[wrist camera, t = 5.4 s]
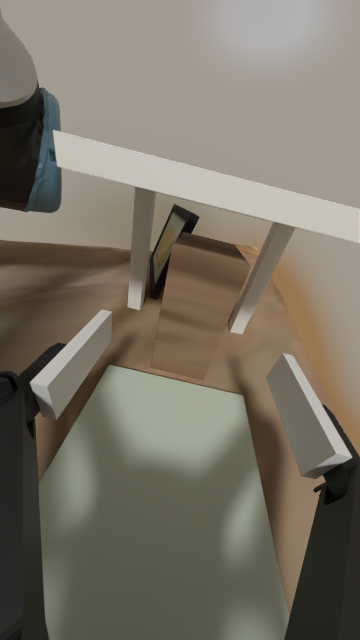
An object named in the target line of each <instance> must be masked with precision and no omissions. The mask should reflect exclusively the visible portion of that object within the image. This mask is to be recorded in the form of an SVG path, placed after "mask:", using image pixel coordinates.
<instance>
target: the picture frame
mask: <svg viewBox="0 0 360 640" xmlns="http://www.w3.org/2000/svg"><path fill="white" fill-rule="evenodd" d="M198 219H199V217H198V216H197V215H195V214H194V213H192V212H190V211H188V210H186V209H184V208H181V207H180V206H178V205H176V204H174V206H173V208H172V210H171V213H170V215H169V217H168V219H167V221H166V224H165V226H164V228H163V230H162V233H161V235H160V237H159V240H158V242H157V244H156V246H155V249H154V251H153V253H152V255H151V258H150V286H151V298H153V299H156V300H157V299H158V297H159V295H160V293H161V291H162V289H163V287H164V285H165V283H166V278H167V272H168V266H169V261H170V255H171V249H172V246H173V245H174V244H175V242H176V241H177V240H178V238H179V237H180V236H181V234H182V233H183V232H186V233H190V234H191V233H192V231H193V229H194V227H195V225H196V223H197V221H198Z"/></svg>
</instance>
